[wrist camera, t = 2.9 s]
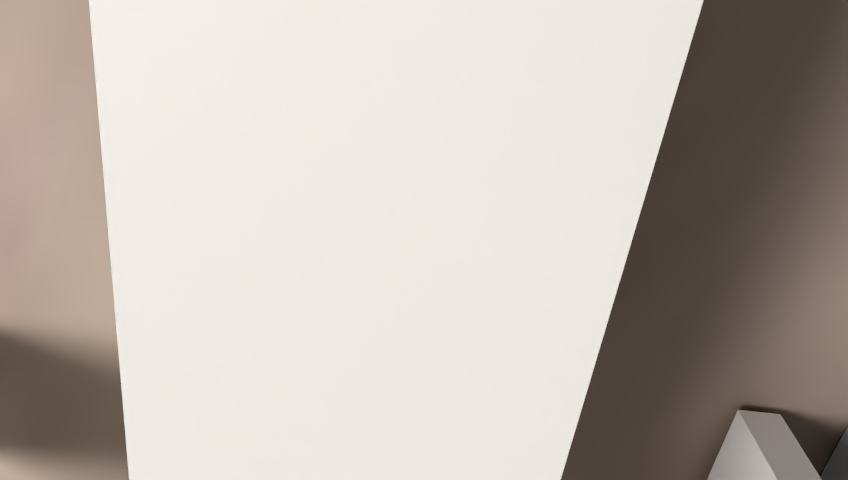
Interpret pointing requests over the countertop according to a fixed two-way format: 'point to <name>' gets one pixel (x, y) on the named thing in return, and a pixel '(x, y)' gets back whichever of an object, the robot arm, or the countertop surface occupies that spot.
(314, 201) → the rail
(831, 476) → the bracket stand
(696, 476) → the countertop surface
